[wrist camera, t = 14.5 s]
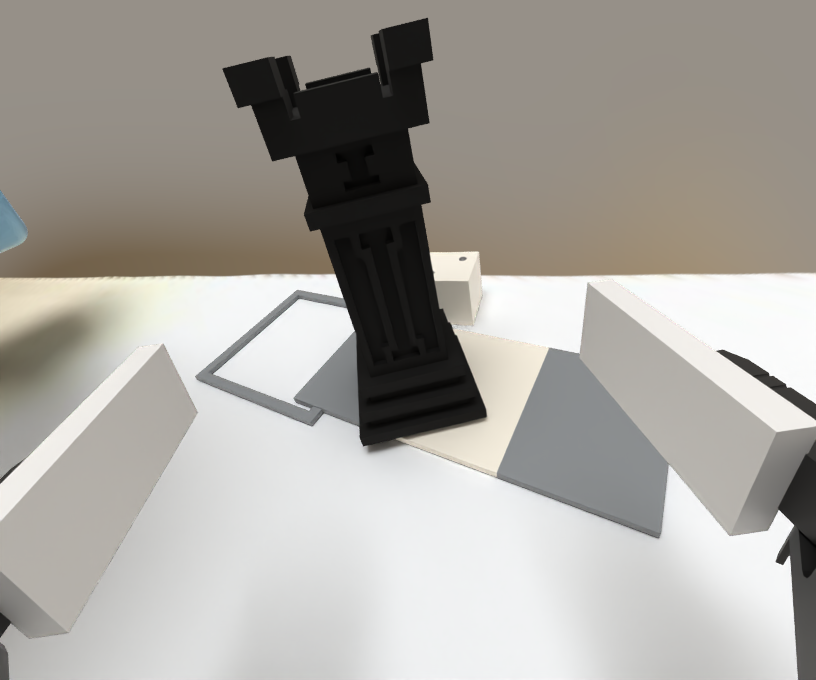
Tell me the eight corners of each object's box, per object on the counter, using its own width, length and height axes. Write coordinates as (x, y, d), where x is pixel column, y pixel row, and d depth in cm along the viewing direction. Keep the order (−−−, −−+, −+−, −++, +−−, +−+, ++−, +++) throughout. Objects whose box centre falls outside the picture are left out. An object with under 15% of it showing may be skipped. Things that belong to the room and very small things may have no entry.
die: (422, 323, 35) (413, 278, 32) (435, 294, 38) (428, 251, 35) (473, 326, 34) (468, 279, 31) (482, 295, 37) (478, 250, 34)
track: (295, 402, 31) (293, 397, 30) (373, 316, 37) (371, 312, 37) (658, 537, 19) (660, 533, 19) (676, 378, 26) (678, 373, 25)
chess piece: (359, 366, 32) (252, 65, 20) (457, 342, 32) (409, 26, 20) (363, 446, 25) (207, 71, 13) (487, 417, 25) (441, 14, 13)
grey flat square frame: (197, 379, 35) (195, 376, 35) (298, 292, 43) (297, 289, 43) (312, 426, 28) (310, 422, 28) (405, 313, 37) (404, 309, 36)
